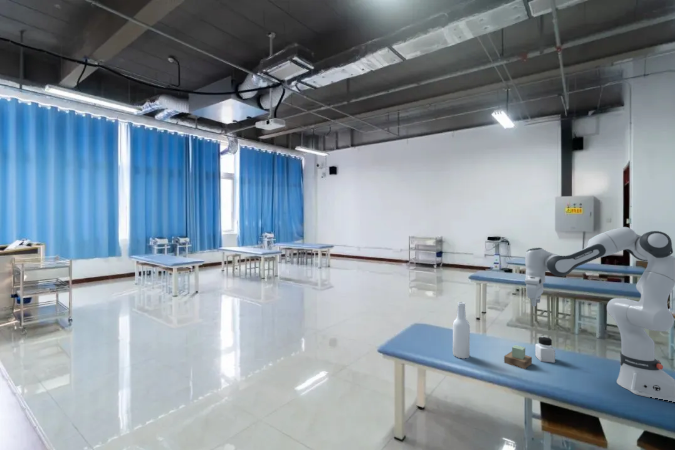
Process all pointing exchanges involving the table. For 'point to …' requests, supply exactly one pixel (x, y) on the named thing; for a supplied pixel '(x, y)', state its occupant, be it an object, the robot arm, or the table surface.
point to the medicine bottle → (545, 350)
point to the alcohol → (461, 333)
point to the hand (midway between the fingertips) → (536, 304)
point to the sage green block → (518, 352)
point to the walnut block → (518, 361)
